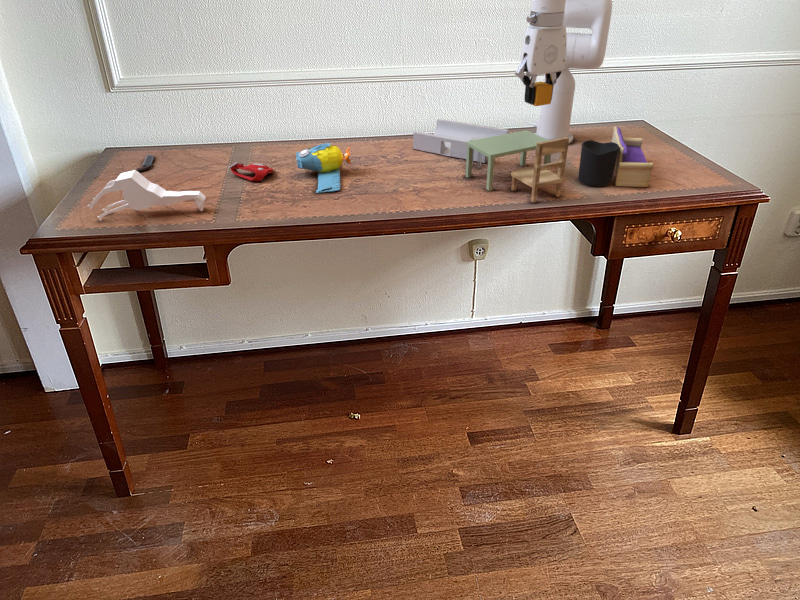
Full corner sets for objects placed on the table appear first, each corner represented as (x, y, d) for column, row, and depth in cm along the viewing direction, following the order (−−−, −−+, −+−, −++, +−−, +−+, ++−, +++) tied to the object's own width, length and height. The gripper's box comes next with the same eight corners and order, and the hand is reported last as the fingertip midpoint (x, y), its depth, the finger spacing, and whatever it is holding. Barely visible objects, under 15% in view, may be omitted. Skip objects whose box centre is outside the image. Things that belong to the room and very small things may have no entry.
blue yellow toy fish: (350, 159, 156) (292, 164, 155) (353, 190, 161) (296, 195, 160) (348, 126, 180) (297, 130, 179) (351, 154, 184) (301, 158, 184)
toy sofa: (649, 188, 159) (657, 151, 153) (614, 187, 161) (621, 149, 155) (638, 160, 176) (645, 125, 171) (607, 159, 178) (613, 124, 172)
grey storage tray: (508, 147, 188) (510, 121, 183) (478, 169, 173) (479, 141, 168) (438, 134, 199) (438, 109, 195) (404, 154, 184) (404, 127, 180)
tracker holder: (271, 163, 176) (276, 167, 167) (270, 179, 177) (275, 183, 168) (228, 159, 172) (231, 162, 163) (227, 175, 173) (230, 179, 164)
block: (524, 102, 148) (526, 83, 145) (539, 99, 149) (541, 81, 147) (535, 106, 145) (537, 87, 142) (550, 103, 146) (552, 85, 144)
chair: (509, 189, 160) (514, 132, 151) (537, 183, 163) (543, 126, 155) (532, 203, 152) (539, 144, 144) (561, 196, 156) (569, 138, 147)
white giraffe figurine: (124, 251, 153) (210, 210, 150) (80, 197, 144) (170, 153, 141) (129, 242, 158) (212, 202, 154) (86, 189, 149) (174, 146, 146)
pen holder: (593, 190, 159) (599, 153, 153) (569, 178, 166) (574, 143, 160) (619, 183, 162) (627, 147, 157) (595, 172, 169) (601, 137, 164)
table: (464, 176, 168) (466, 141, 163) (523, 163, 176) (526, 129, 170) (488, 191, 159) (490, 155, 154) (549, 177, 167) (553, 142, 161)
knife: (149, 171, 176) (149, 168, 175) (135, 172, 175) (135, 170, 175) (156, 154, 187) (156, 152, 187) (143, 155, 187) (142, 153, 186)
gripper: (526, 25, 131) (518, 110, 141) (586, 18, 137) (575, 100, 147) (506, 20, 137) (500, 102, 147) (565, 14, 143) (555, 93, 153)
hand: (538, 100), depth 147 cm, fingers closed on block, 4 cm apart
